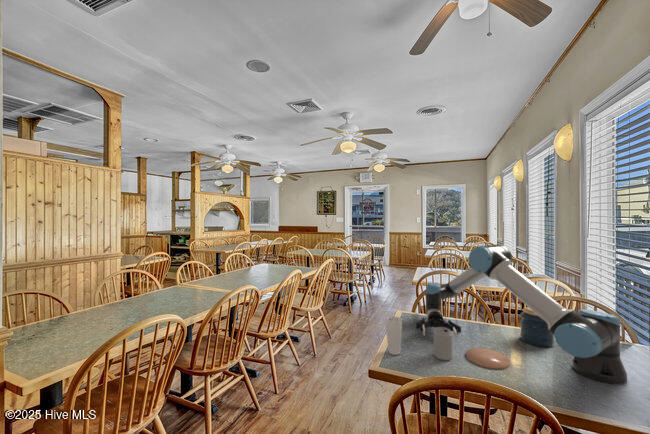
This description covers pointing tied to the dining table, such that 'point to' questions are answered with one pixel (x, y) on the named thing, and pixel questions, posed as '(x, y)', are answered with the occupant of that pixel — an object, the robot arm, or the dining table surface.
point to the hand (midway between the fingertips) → (440, 334)
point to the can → (443, 343)
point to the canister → (535, 329)
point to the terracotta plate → (488, 358)
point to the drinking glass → (394, 334)
